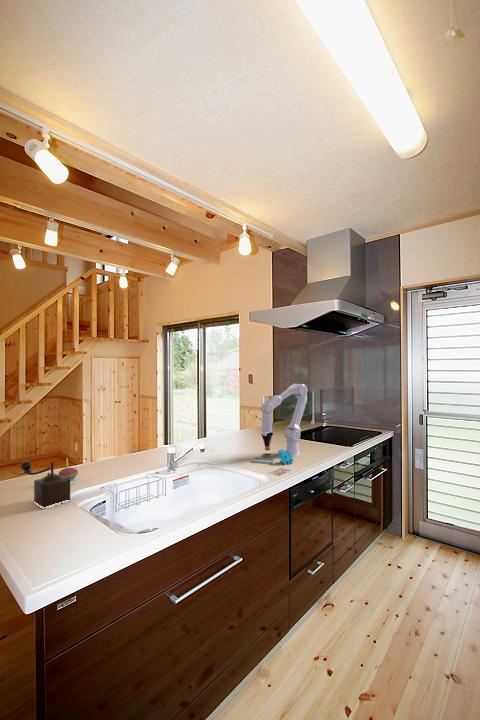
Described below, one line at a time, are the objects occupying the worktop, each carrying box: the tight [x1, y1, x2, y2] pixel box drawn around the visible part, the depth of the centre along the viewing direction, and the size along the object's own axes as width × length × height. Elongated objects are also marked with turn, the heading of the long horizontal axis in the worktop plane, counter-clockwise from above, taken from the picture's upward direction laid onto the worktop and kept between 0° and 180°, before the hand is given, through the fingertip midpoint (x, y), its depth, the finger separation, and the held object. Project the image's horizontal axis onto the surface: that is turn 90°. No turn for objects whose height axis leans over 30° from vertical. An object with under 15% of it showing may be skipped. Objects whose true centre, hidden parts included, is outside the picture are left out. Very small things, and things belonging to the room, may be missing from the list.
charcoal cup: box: [261, 452, 274, 458], centre depth 205 cm, size 6×6×2 cm
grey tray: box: [250, 456, 276, 465], centre depth 197 cm, size 8×12×1 cm
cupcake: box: [58, 458, 79, 482], centre depth 164 cm, size 9×8×12 cm
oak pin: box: [264, 441, 271, 451], centre depth 205 cm, size 3×3×6 cm
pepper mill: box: [20, 460, 71, 507], centre depth 139 cm, size 16×11×18 cm
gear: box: [277, 448, 295, 466], centre depth 194 cm, size 11×6×10 cm
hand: (267, 445), depth 205 cm, fingers closed on oak pin, 3 cm apart
